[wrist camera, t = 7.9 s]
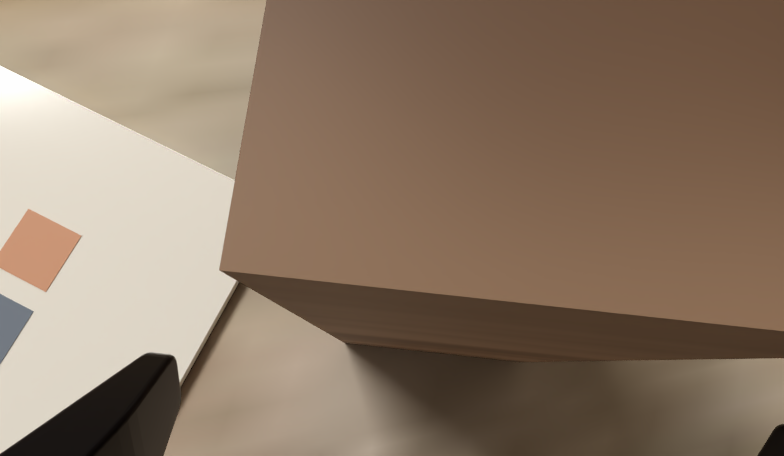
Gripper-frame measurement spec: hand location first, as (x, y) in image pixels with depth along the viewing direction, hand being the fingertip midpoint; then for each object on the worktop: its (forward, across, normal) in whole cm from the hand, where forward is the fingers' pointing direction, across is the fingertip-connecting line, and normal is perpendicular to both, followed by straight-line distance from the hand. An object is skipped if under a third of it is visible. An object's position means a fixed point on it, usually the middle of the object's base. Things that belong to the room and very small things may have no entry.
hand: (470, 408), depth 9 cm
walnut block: (+8, 0, +3) cm, 8 cm away
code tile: (+6, +12, +4) cm, 14 cm away
